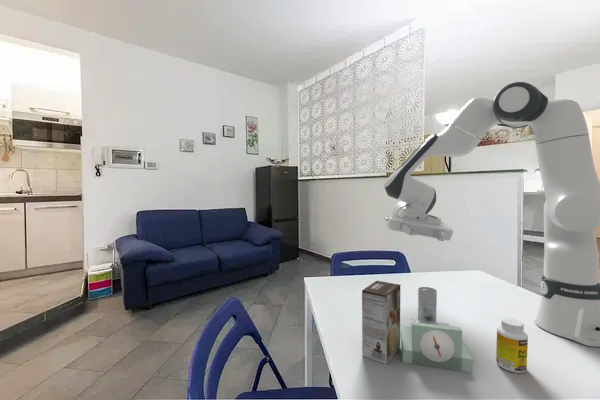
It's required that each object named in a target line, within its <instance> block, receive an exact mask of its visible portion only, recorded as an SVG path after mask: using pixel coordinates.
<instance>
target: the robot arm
mask: <svg viewBox="0 0 600 400" xmlns="http://www.w3.org/2000/svg"><path fill="white" fill-rule="evenodd" d="M495 126H500V127H505V128H506V127H507V128H513V129H521V128H525V127H526V128H527V127H530V128H531V130H532V131H533V134H534V139H535V141H534V143H535V148H536V154H537V161H538V162H537V163H538V168H539V173H540V178H541V181H542V186H543V190H544V195H545V202H544V203H543V245H544V248H543V249H544V251H543V254H544V255H543V256H544V257H543V274H542V275H541V280H540V281H541V282H540V293H541V300H540V304H539V309H538V312H537V315H536V316H535V319H534V323H535V324H536V325H537V326H538V327H540V328H541V329H542V330H544V331H547V332H549V333H551V334H554V335H557V336H559V337H562V338H566V339H569V340H571V341H574V342H577V343H579V344H582V345H584V346H588V347H596V348H597V347H600V283H599V281H598V280H599V259H600V258H599V255H600V253H599V250H598V242H597V233H596V229H598V228H599V227H600V180H599V176H598V174H597V171H596V167H595V163H594V158H593V152H592V145H591V140H590V134H589V129H588V124H587V120H586V118H585V115H584V112H583V110H582V108H581V106H580V104H579V103H578V102H577V101H575V100H573V99H566V98H564V99H556V100H552V101H549V98H548V96H546V95H545V94H544V93H543V92H542V91H540V89H538V88H537V86H534V85H533V84H531V83H529V82H526V81H516V82H512V83H509V84H507V85H505V86H504V87H501V89H500V90H499V91H498V92H497V93H496V95H495V96H494V98H493V100H492V99H489V98H485V97H473V98H472V99H470V100H469V101H468V102H467V103H466V104H465V105H464V106H462V108H461V109H460V111H458V113H457V114H455V116H454V117H453V118H452V120H451V121H450V124H448V126H447V127H445V129H444V130H442V131H441V132H439V133H437V134H431V135H430V136H428V137H427V138H426V139H425V140H424V141H423V142H422V143H421V144H420V145H418V147H416V149H414V151H412V153H411V154H410V155H409V156H408V157H407V159H406V160H405V161H403V163H402V164H401V165H400V166H399V167H398V168H396V170H395V171H394V172H392V173H391V174H390V176H388V178H387V179H386V181H385V184H384V189H385V192H386V195H387V197H391V198H392V199H395V200H397V201H398V202H396V203H395V204H394V205H393V209H392V214H389V216H385V217H384V220H385V221H386V222H387V224H386V227H387V228H388V229H389V230H391V231H394V232H400V233H405V234H407V235H408V236H420V237H421V236H422V237H427V238H432V239H436V240H437V241H440V242H444V241H448V242H449V241H451V240H452V237H453V234H454V230H453V228H451V227H450V226H449V225H448V224H446V223H445V222H443V221H442V218H440V217H438V216H434V215H431V214H430V211H432V209H433V208H434V207H435V205H436V202H437V192H436V189H435V187H434V186H432V185H429V184H428V183H425V182H424V181H421V180H419V179H418V178H415V177H413V176H412V173H414V172H415V171H416V170H417V169H418V168H419V166H421V164H422V163H424V161H425V160H426V159H428V158H430V157H450V158H451V157H452V158H458V157H459V158H460V157H463V156H466V155H469V154H470V153H471V152H473V151H474V150H475V148H476V147H478V145H479V144H480V142H481V141H482V140H483V138H484V137H485V136H486V134H488V132H489V131H490V130H491V129H492V128H494V127H495Z"/></svg>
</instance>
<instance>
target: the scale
mask: <svg viewBox="0 0 600 400" xmlns="http://www.w3.org/2000/svg"><path fill="white" fill-rule="evenodd" d="M400 348H401V355H402V363H405V364H412V365H416V366H417V365H418V366H424V367H430V368H431V367H432V368H437V369H444V370H449V371H456V372H463V373H470V374H472V373H473V359H472V356H471V355H470V352H469V350H468V348H467V346H466V344H465V342H464V340H463V329H462V327H457V326H451V325H449V326H442V325H434V324H425V323H417V322H412V327H411V326H407V325H400Z"/></svg>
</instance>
